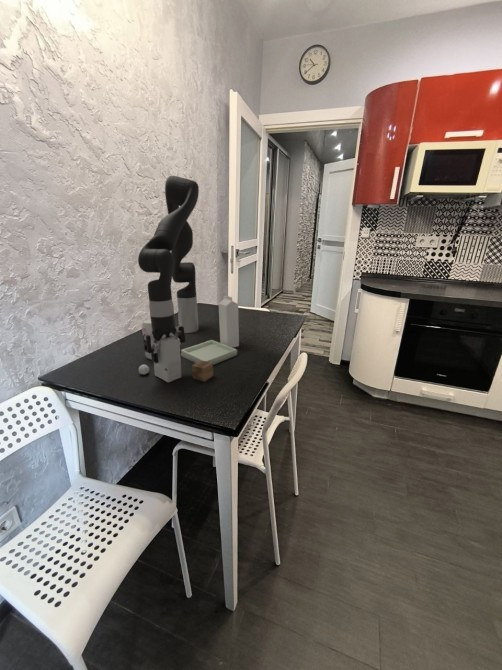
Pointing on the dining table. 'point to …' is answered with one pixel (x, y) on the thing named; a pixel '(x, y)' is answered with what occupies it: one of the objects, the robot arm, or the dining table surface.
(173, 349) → the skincare box
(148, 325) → the supplement can
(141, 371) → the white egg
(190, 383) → the dining table surface
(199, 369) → the walnut block
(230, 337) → the milk
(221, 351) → the tray
